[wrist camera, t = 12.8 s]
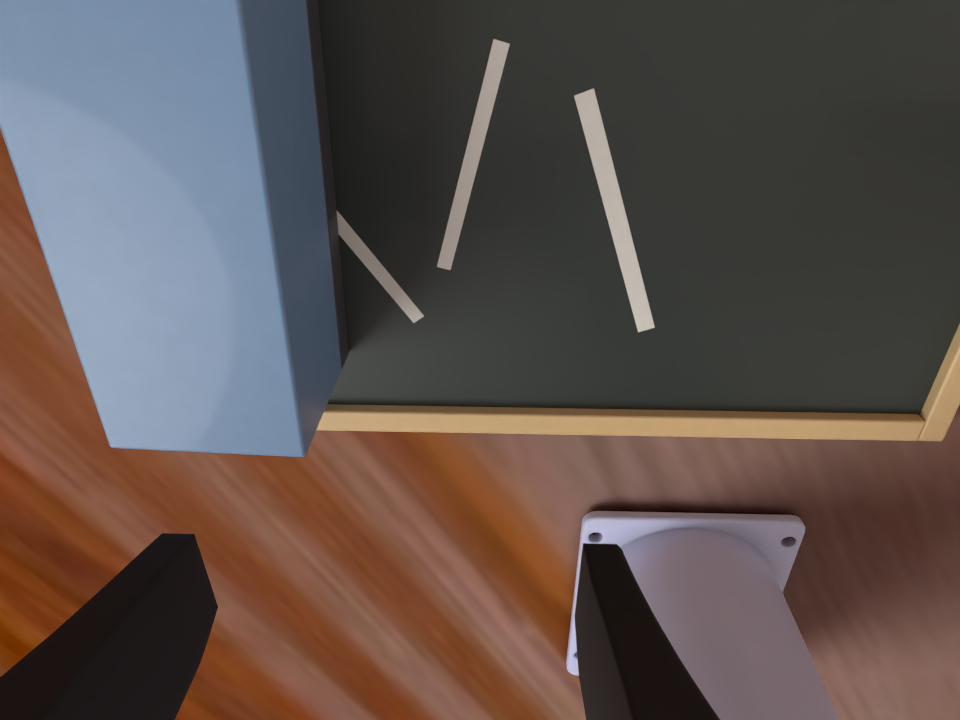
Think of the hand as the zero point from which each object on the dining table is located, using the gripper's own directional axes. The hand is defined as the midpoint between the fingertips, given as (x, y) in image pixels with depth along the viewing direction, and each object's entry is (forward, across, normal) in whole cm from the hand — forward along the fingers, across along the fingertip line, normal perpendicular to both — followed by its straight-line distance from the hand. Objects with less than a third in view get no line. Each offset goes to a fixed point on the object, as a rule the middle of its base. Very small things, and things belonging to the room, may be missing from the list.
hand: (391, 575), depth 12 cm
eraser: (+9, +5, -5) cm, 11 cm away
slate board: (+9, -3, -4) cm, 11 cm away
